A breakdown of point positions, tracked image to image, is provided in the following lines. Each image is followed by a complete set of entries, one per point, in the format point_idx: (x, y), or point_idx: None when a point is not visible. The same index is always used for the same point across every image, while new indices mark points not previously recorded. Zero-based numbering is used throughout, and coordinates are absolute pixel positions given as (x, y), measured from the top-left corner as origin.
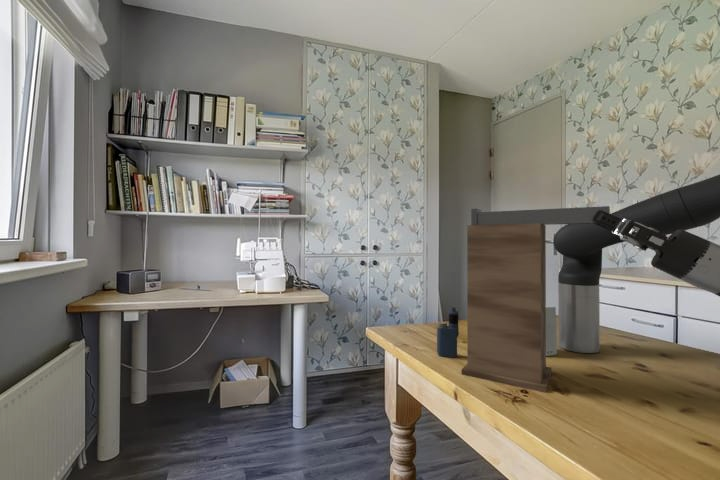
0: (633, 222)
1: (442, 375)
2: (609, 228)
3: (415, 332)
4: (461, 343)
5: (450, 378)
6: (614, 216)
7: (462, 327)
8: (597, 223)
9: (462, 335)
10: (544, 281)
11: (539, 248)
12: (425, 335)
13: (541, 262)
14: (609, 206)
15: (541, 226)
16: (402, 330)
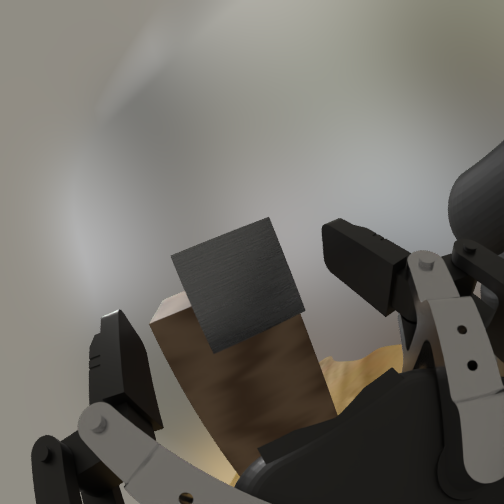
0: (34, 466)
1: (236, 473)
2: (377, 302)
3: (329, 366)
4: (352, 399)
5: (235, 481)
6: (101, 370)
7: (400, 346)
8: (340, 273)
9: (377, 373)
10: (306, 412)
11: (179, 383)
12: (332, 375)
13: (222, 404)
14: (172, 257)
15: (181, 318)
16: (320, 361)
